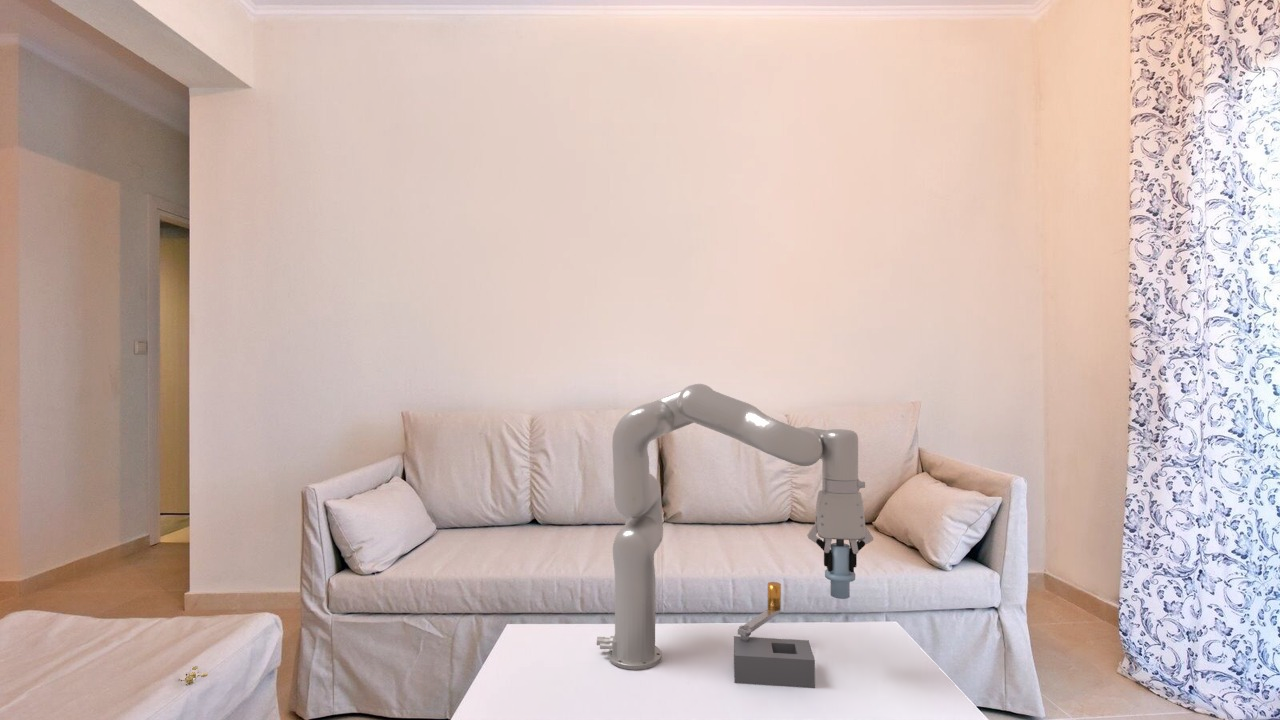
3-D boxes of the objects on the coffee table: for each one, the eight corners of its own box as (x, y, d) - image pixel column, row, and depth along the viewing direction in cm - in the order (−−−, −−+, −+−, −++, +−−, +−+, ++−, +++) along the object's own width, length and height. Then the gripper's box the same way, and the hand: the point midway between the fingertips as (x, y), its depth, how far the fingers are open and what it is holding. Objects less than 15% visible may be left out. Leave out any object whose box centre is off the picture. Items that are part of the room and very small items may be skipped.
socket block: (734, 683, 143) (734, 649, 143) (733, 661, 153) (733, 630, 153) (814, 688, 141) (814, 654, 141) (808, 666, 151) (808, 635, 151)
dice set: (188, 688, 141) (188, 679, 141) (172, 684, 143) (172, 675, 143) (211, 677, 146) (211, 669, 146) (195, 673, 148) (195, 665, 148)
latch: (747, 637, 149) (748, 605, 149) (735, 633, 151) (735, 602, 151) (782, 612, 164) (783, 583, 164) (771, 609, 166) (771, 581, 166)
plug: (827, 600, 142) (827, 537, 142) (822, 589, 148) (822, 529, 148) (858, 601, 141) (858, 538, 141) (852, 591, 147) (852, 530, 147)
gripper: (875, 484, 147) (875, 566, 147) (799, 482, 149) (799, 563, 149) (884, 490, 140) (883, 577, 140) (803, 488, 142) (803, 574, 142)
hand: (840, 569), depth 144 cm, fingers closed on plug, 4 cm apart
